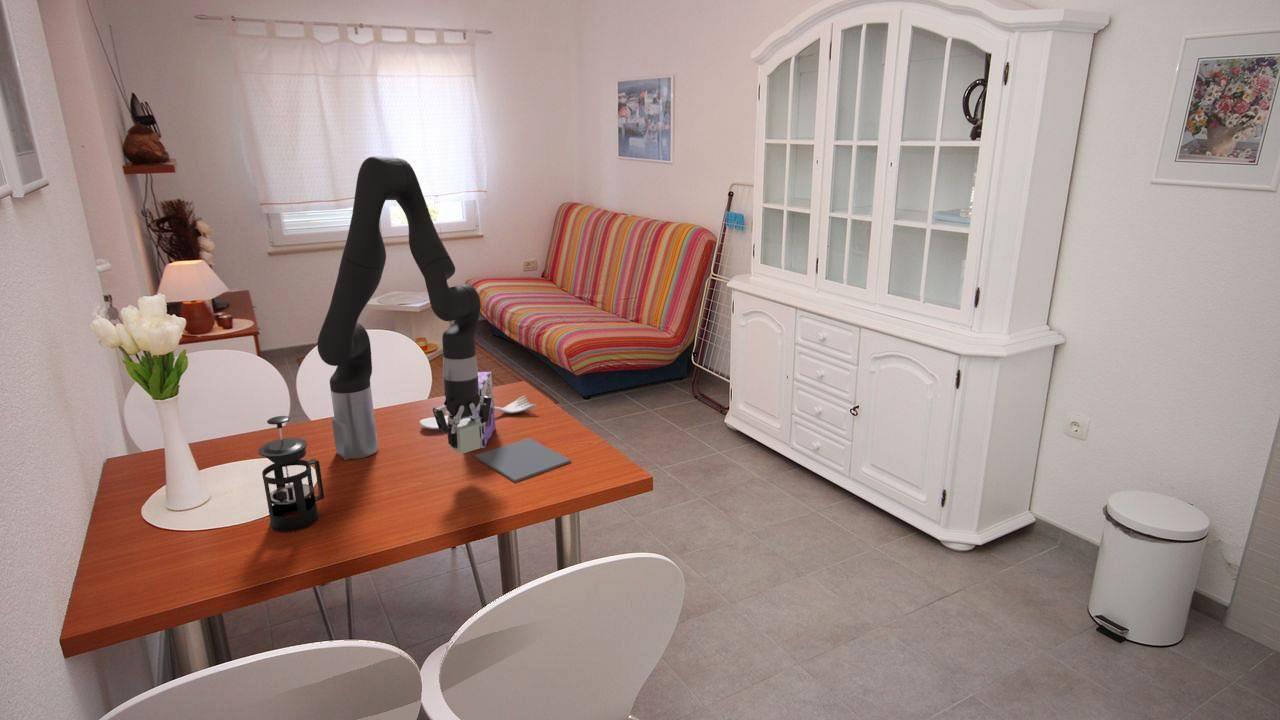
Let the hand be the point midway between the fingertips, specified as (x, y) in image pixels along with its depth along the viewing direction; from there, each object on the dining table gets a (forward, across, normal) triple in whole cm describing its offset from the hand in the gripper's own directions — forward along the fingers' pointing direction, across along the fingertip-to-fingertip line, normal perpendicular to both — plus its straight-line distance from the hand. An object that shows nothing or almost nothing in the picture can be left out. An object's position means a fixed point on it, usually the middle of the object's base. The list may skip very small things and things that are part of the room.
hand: (465, 443), depth 171 cm
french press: (+9, +36, -5) cm, 38 cm away
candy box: (+9, -13, -18) cm, 24 cm away
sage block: (+1, 0, 0) cm, 1 cm away
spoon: (+9, -20, -30) cm, 37 cm away
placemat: (+8, -15, +1) cm, 17 cm away
